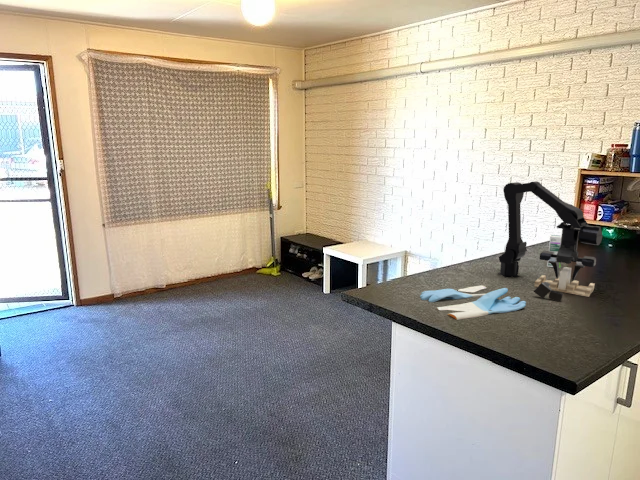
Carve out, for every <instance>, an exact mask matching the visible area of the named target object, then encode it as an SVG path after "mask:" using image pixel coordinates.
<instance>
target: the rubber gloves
mask: <svg viewBox="0 0 640 480" xmlns="http://www.w3.org/2000/svg"><path fill="white" fill-rule="evenodd" d="M483 289H484V290H485V289H487V287H486V286H485V285H483V284H482V285H481V284H480V285H475V286H469V287H464V288H460V289H453V288H443V289H442V288H441V289H436V290H432V289H431V290H424V291H422V292H421V295H419V298H420V300H421V301H427V300H428V302H429V303H436V302H437V301H440V300H461V299H470V298H477V300H474V301H469V302H466V303H465V302H464V303H460V304H452V305H445V306H439V307H438V306H437V307H436V310H439V311H447V310H448V311H455V312H449V313H447V314H446V315H447V316H448V317H451V318H453V319H455V320H456V321H457V320H458V321H459V320H466V319H472V318H478V317H482V316H484V317H485V316H487V315H492V314H503V313H510V312H515V311H518V310H521V309H524V308H525V307H526V306H527V305H526V304H527V301H526V300H521V298H520V297H518V296H515V297H512V298H511V296H505V297H504V298H502V299H498V298H500V297H502V296H504V295H506V294H507V293H508V291H509V289H508V287H503V288H499V289H495V290H492V291H489V292H487V293H475V292H478V291H481V290H483ZM457 290H458V291H457ZM466 292H467V293H466ZM472 293H473V294H472ZM478 297H479V298H478ZM456 311H457V312H456Z"/></svg>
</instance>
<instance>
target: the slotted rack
mask: <svg viewBox="0 0 640 480" xmlns="http://www.w3.org/2000/svg"><path fill="white" fill-rule="evenodd" d="M542 282H543V283H544V282H548V284H550V286H549V288H551V290H552V291H556V292H559V293H567V294H573V295H577V296H582V297H589V298H590V296H591V295H592V293H593V292H594V290H595V284H596V283H593V282H590V283H589V284H588V286H586V285H579V284H580V281H579V280H575V279H574V281H572V280H571V281H570V284H569V286H568V287H567V289H566V290H563V289H558V285H559V277H558V279H556V278H555V279H554V280H550V279H547V275H545V274H544V275H542V274H541V275H540V277H538V278H537V279H536V280H535V281H534V285H533V288H537V287H538V286H539V285H540V284H541V283H542Z"/></svg>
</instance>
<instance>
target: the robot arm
mask: <svg viewBox="0 0 640 480" xmlns="http://www.w3.org/2000/svg"><path fill="white" fill-rule="evenodd" d="M528 192H529V193H530V192H531V193H532V194H533V195H535V196H536V197H538V199H540V200H541V201H542V202H543V203H545V204H546V205H547V206H549V207H550V208H552V209H553V210H554V211H555V213H556V214H557V217H559V218H560V220H561V221H562V222H560V223H559V224H558V225H556V228H557V229H561V235H562V237H561V245H560V248H559V250H558V253H557V255H556V254H554V252H551V251H549V250H543V251H542V252H540V254H539V260H540V261H546V262H547V261H548V260H549V261H548V263H551V264H552V266H553V267H552V268H553V271H554V275H555V279H558V278H559V277H560V268H559V263H561V264H562V263H563V264H568V265H569V264H571V263H572V262H573V263H576V264H575V265H574V270H573V272H572V273H573V274H572V275H571V276H572V277H571V282H572V281H574V280H575V278H576V277H577V275H578V274H579V273H578V272H580V270H581V269H582V268H583V269H584V268H585V267H589V268H593V267H595V266H596V264H597V263H596V262H597V258H596V257H595V256H588V255H584V256H583V257H579V251H578V243H579V241H580V243H582V244H587V245H594V246H600V244H601V243H602V239H603V232H602V226H597V225H596V226H593V225H589V224H588V222H587V220H586V219H585V217H584V212H583V209H581V208H579V207H578V206H575V205H573V204H570V203H568V202H565V201H563V200H562V199H561V198H559V197H558V196H557V195H556V194H555V193H553V192H552V191H550V190H549V189H548V188H546V187H545V186H544V185H543V184H541V182H539V181H538V180H537V181H536V180H535V181H530V182H526V183H521V182H517V181H516V182H508V183H506V184H505V185H504V186H503V196H504V200H505V202H506V203H507V211H508V212H507V214H508V217H507V218H508V219H507V220H508V222H507V223H508V239H507V242H506V244H505V247H504V248H505V250H504V252H503V253H502V254H501V255H500V256H499V257H498V260H499V263H500V270H499V272H497V275H499V276H502V277H504V278H506V279H507V278H520V275H519V268H520V264H519V262H520V261H521V259H522V258H523V257H524V256H525V255H526V253H527V241H523V239H522V233H521V232H522V223H521V221H522V219H521V218H522V216H521V203H522V201H523V199H524V195H525V193H528Z"/></svg>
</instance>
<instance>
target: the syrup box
mask: <svg viewBox="0 0 640 480" xmlns="http://www.w3.org/2000/svg"><path fill="white" fill-rule="evenodd" d="M561 237H562V234H550V235H549V244H548V251H551V252H554V254H556V255H557V253H558V250H559V248H560V245H561ZM548 261H549V260H548ZM548 261H546V267H548V268H553V266H552V264H551V263H548ZM561 268H562V262H561V263H559V269H561Z"/></svg>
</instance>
